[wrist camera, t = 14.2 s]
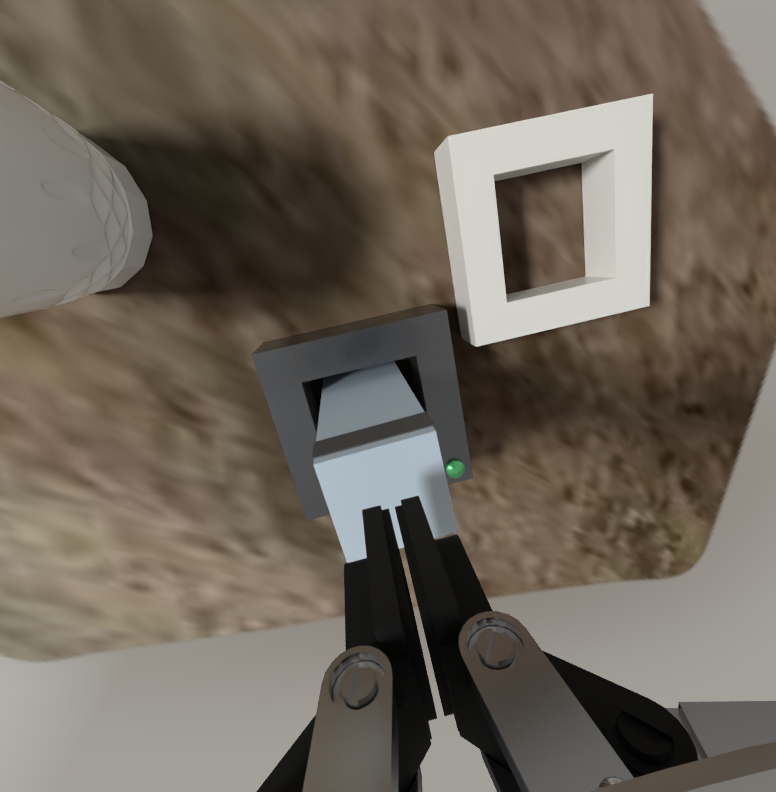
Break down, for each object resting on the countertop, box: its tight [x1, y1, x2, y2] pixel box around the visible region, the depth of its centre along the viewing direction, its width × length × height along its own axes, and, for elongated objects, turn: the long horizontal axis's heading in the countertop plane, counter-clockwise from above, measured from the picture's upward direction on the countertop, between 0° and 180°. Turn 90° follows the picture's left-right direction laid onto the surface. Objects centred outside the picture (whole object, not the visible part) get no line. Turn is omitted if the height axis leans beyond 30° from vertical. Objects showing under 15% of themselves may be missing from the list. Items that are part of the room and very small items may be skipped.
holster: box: [434, 94, 653, 347], centre depth 19 cm, size 9×9×2 cm
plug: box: [312, 361, 458, 563], centre depth 18 cm, size 4×4×10 cm
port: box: [252, 304, 473, 520], centre depth 21 cm, size 9×9×3 cm
